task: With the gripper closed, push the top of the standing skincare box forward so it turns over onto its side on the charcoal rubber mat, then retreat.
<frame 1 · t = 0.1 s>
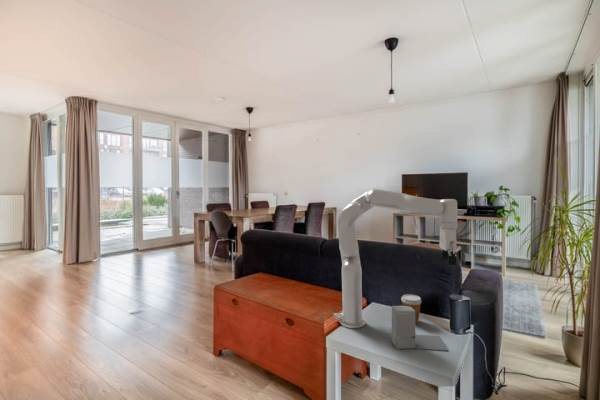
hand: (448, 261, 142), 31 cm above the table, fingers open, 9 cm apart
mat: (429, 342, 129), on the table
disposable coffee cup: (411, 321, 151), on the table
skincare box: (403, 345, 128), on the table
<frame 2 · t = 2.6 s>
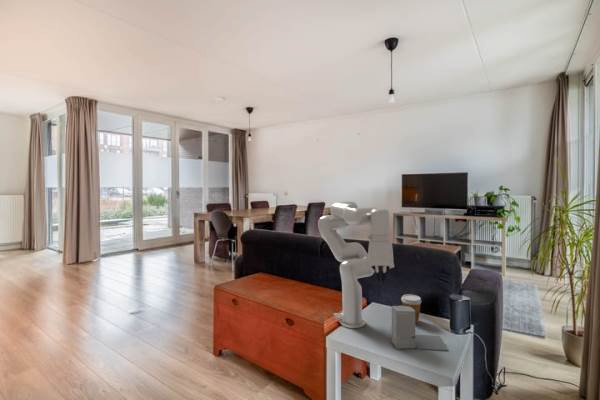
hand: (380, 281, 129), 27 cm above the table, fingers closed
nothing on the table moved.
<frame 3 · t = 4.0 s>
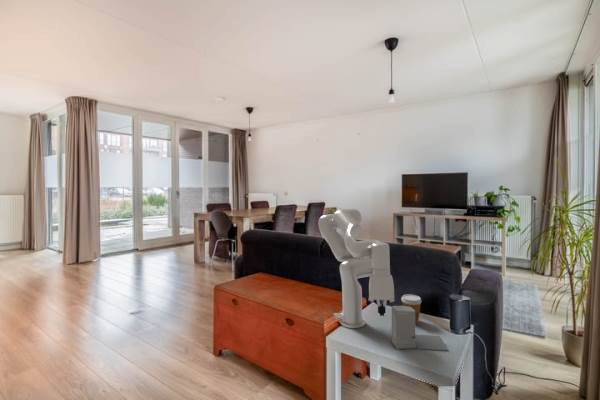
hand: (381, 314, 129), 13 cm above the table, fingers closed
nothing on the table moved.
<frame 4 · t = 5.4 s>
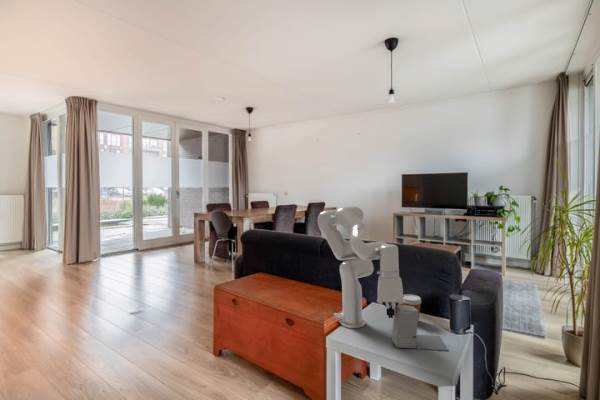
hand: (390, 316, 128), 12 cm above the table, fingers closed
skincare box: (403, 344, 128), on the table, touching gripper
everything else where it was.
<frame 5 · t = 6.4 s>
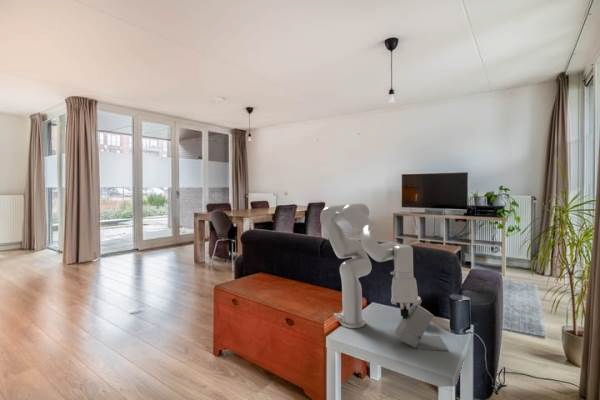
hand: (404, 317, 127), 12 cm above the table, fingers closed
skincare box: (404, 340, 128), point 2 cm above the table
everything else where it was.
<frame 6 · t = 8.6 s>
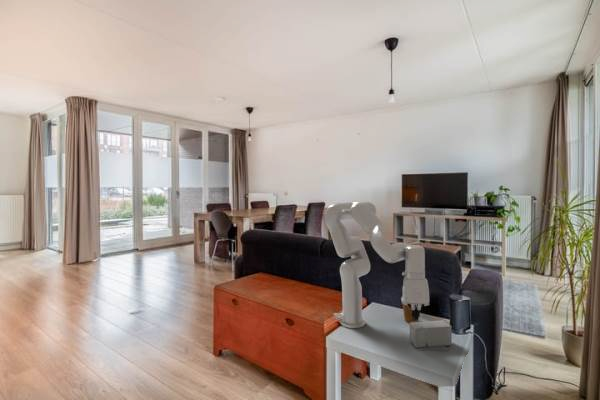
hand: (415, 318, 127), 12 cm above the table, fingers closed
skincare box: (411, 334, 128), point 4 cm above the table, touching mat
everything else where it was.
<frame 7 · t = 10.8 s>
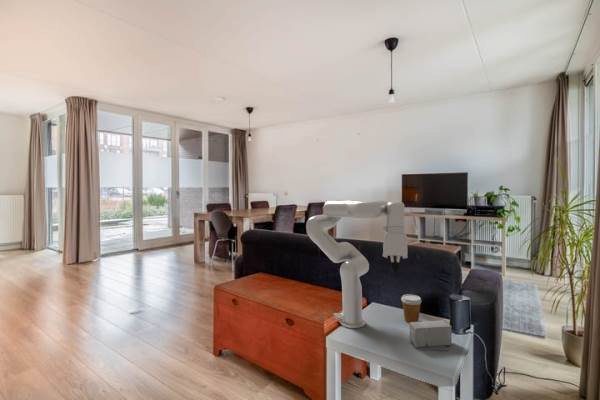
hand: (394, 270, 135), 30 cm above the table, fingers closed
nothing on the table moved.
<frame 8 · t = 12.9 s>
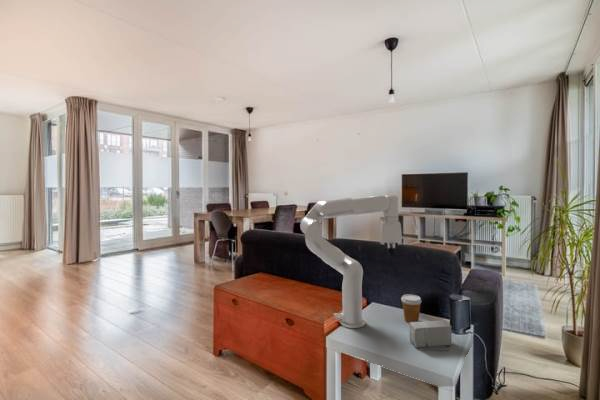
hand: (391, 255, 154), 32 cm above the table, fingers closed
nothing on the table moved.
at the end: skincare box tilted 88°; skincare box 8.0 cm from the mat (horizontally) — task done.
